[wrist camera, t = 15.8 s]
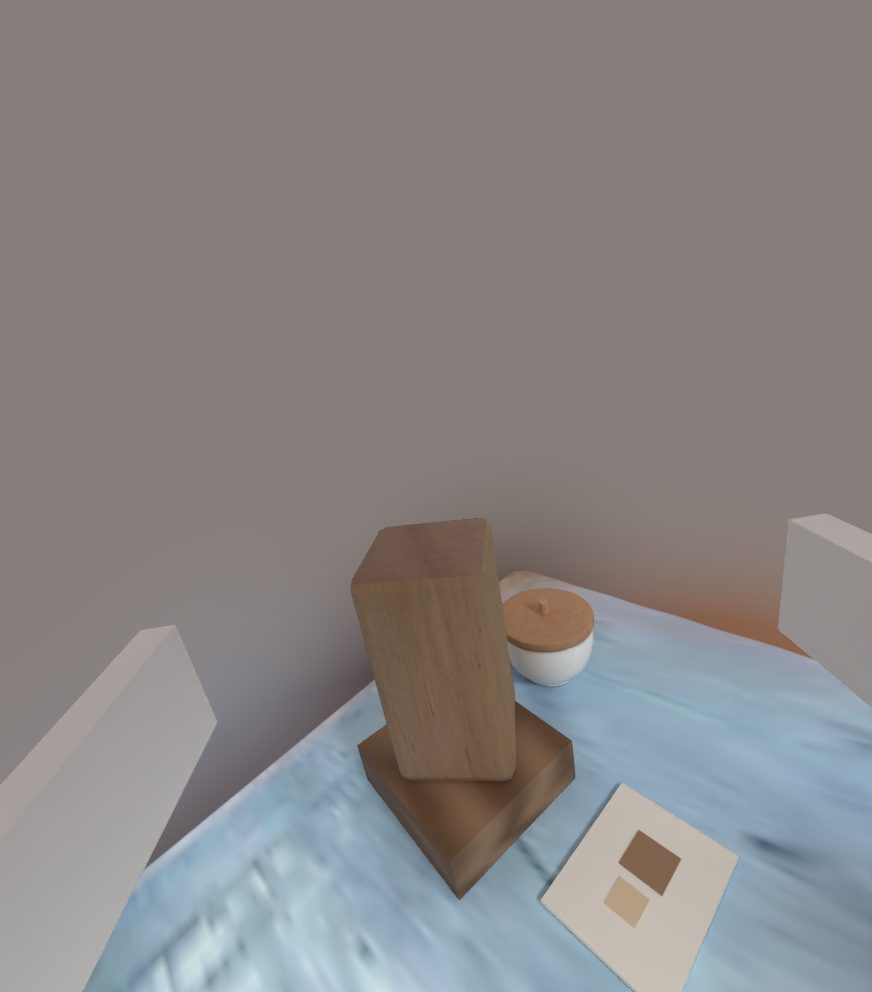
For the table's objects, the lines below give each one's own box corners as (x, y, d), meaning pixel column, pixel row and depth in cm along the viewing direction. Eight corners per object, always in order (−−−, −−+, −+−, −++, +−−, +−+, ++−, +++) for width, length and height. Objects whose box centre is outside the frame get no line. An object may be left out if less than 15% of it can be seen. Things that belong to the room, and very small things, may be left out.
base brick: (473, 702, 53) (467, 667, 52) (575, 781, 43) (571, 741, 41) (368, 782, 46) (357, 745, 44) (460, 904, 35) (449, 861, 34)
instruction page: (622, 784, 41) (621, 781, 41) (738, 858, 34) (739, 855, 34) (540, 903, 34) (540, 899, 34) (667, 1024, 27) (668, 1020, 27)
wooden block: (399, 785, 40) (342, 584, 33) (419, 696, 49) (378, 523, 42) (517, 787, 38) (484, 573, 31) (515, 693, 47) (489, 512, 40)
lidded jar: (617, 678, 52) (614, 608, 49) (535, 717, 49) (526, 645, 46) (561, 628, 62) (555, 567, 59) (489, 658, 59) (479, 595, 56)
